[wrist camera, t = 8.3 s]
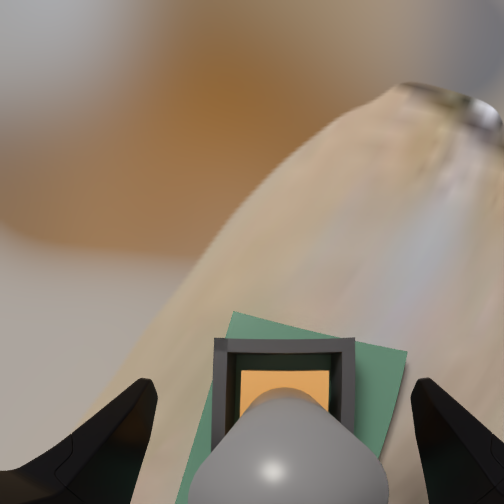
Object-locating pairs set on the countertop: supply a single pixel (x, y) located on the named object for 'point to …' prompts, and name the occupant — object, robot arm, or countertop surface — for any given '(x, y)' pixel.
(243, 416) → the plug
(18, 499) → the robot arm
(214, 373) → the frame
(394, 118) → the countertop surface
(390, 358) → the board
